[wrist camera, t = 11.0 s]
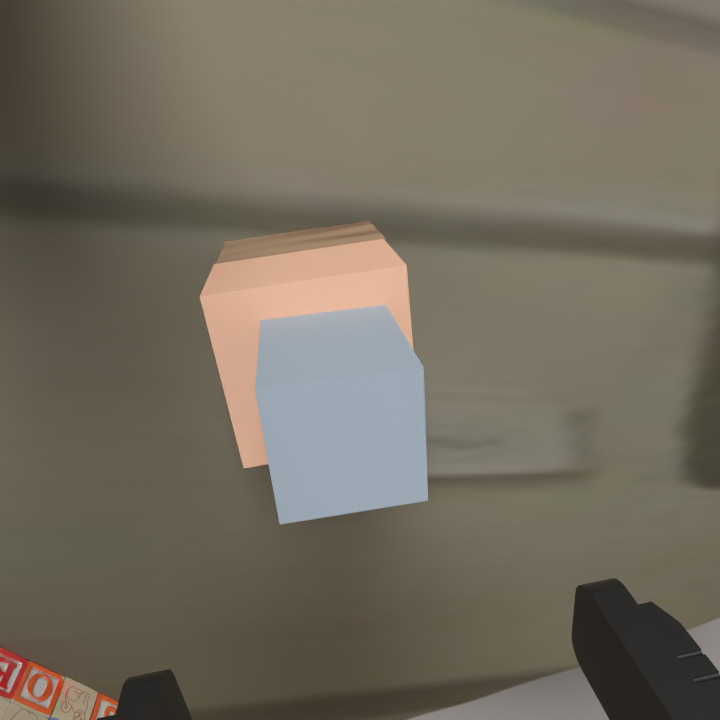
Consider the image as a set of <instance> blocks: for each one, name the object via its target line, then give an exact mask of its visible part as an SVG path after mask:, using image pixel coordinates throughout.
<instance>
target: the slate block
mask: <svg viewBox="0 0 720 720" xmlns="http://www.w3.org/2000/svg"><path fill="white" fill-rule="evenodd" d="M255 394H256V399H257V405H258V410H259V416H260V421H261V426H262V432H263V437H264V442H265V448H266V453H267V459H268V464H269V469H270V475H271V480H272V486H273V491H274V496H275V502H276V507H277V512H278V518H279V523H280V524H286V523H293V522H299V521H305V520H311V519H317V518H323V517H330V516H336V515H342V514H348V513H354V512H360V511H367V510H373V509H379V508H385V507H391V506H397V505H404V504H410V503H416V502H422V501H428V487H427V456H426V426H425V396H424V368H423V366H422V364H421V362H420V361H419V359H418V357H417V356H416V354H415V352H414V351H413V349H412V347H411V346H410V344H409V342H408V341H407V339H406V337H405V336H404V334H403V332H402V331H401V329H400V327H399V326H398V324H397V322H396V321H395V319H394V317H393V316H392V314H391V312H390V311H389V309H388V307H387V306H386V305H379V306H371V307H363V308H355V309H347V310H339V311H331V312H323V313H315V314H307V315H299V316H291V317H283V318H275V319H267V320H260V331H259V344H258V357H257V370H256V383H255Z"/></svg>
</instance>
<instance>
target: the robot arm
mask: <svg viewBox="0 0 720 720" xmlns="http://www.w3.org/2000/svg"><path fill="white" fill-rule="evenodd" d="M572 642H573V647H574V651H575V654H576V657H577V660H578V662H579V665H580V667H581V669H582V671H583V673H584V674H585V676H586V678H587V680H588V682H589V683H590V685H591V687H592V689H593V691H594V692H595V694H596V696H597V698H598V699H599V701H600V703H601V705H602V707H603V709H604V710H605V712H606V714H607V716H608V718H609V719H610V720H720V675H719V671H718V670H717V669H716V667H715V666H714V665H713V664H712V662H711V661H710V660H709V658H708V657H707V656H706V655H703V654H702V652H701V649H700V647H699V646H698V645H697V643H696V642H695V641H694V640H693V638H692V637H691V636H690V635H689V633H688V632H687V631H686V630H685V628H684V627H683V626H682V625H681V623H680V622H678V621H677V620H676V619H674V618H673V617H672V616H670V615H669V614H668V613H666V612H665V611H664V610H662V609H661V608H659V607H658V606H657V605H655V604H654V603H653V602H648V603H643V604H639V605H638V604H637V602H636V601H635V600H634V598H633V597H632V596H631V594H630V593H629V591H628V590H627V589H626V587H625V586H624V585H623V584H622V583H621V582H620V581H619V580H617V579H614V578H613V579H608V580H603V581H598V582H593V583H589V584H584V585H579V586H578V587H577V588H576V593H575V604H574V615H573V626H572ZM97 720H192V719H191V716H190V713H189V710H188V708H187V706H186V703H185V701H184V698H183V696H182V693H181V691H180V689H179V686H178V684H177V681H176V679H175V676H174V674H173V672H172V671H171V670H170V669H168V670H163V671H158V672H153V673H149V674H144V675H139V676H134V677H130V678H128V679H127V680H126V681H125V683H124V685H123V688H122V691H121V695H120V698H119V702H118V706H117V710H116V713H115V715H110V716H106V717H101V718H97Z"/></svg>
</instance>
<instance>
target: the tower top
mask: <svg viewBox="0 0 720 720" xmlns="http://www.w3.org/2000/svg"><path fill="white" fill-rule="evenodd" d="M200 300H201V304H202V308H203V312H204V315H205V319H206V323H207V327H208V331H209V335H210V339H211V343H212V347H213V351H214V354H215V358H216V362H217V366H218V370H219V374H220V378H221V382H222V386H223V390H224V393H225V397H226V401H227V405H228V409H229V413H230V417H231V421H232V425H233V429H234V432H235V436H236V440H237V444H238V448H239V452H240V456H241V460H242V464H243V468H249V467H255V466H260V465H266V464H268V459H267V453H266V448H265V442H264V437H263V432H262V426H261V421H260V416H259V410H258V405H257V399H256V394H255V383H256V370H257V357H258V344H259V331H260V320H267V319H275V318H283V317H291V316H299V315H307V314H315V313H323V312H331V311H339V310H347V309H355V308H363V307H371V306H379V305H386V306H387V307H388V309H389V311H390V312H391V314H392V316H393V317H394V319H395V321H396V322H397V324H398V326H399V327H400V329H401V331H402V332H403V334H404V336H405V337H406V339H407V341H408V342H409V344H410V346H411V347H412V349H413V341H412V328H411V316H410V303H409V291H408V278H407V266H406V264H405V263H404V262H403V261H402V260H401V258H400V257H399V256H398V255H397V254H396V253H395V252H394V250H393V249H392V248H391V247H390V246H389V245H388V244H387V243H386V241H385V240H384V239H381V240H374V241H367V242H361V243H354V244H347V245H340V246H334V247H327V248H320V249H314V250H307V251H300V252H293V253H287V254H280V255H273V256H266V257H260V258H253V259H246V260H239V261H233V262H226V263H219V264H214V265H213V268H212V270H211V272H210V275H209V277H208V279H207V281H206V284H205V286H204V288H203V290H202V293H201V295H200Z"/></svg>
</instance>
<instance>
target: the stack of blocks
mask: <svg viewBox="0 0 720 720" xmlns="http://www.w3.org/2000/svg"><path fill="white" fill-rule="evenodd" d="M117 706H118V702H117V701H115V700H113V699H111V698H109V697H107V696H105V695H103V694H100V693H98V692H96V691H94V690H93V689H91V688H89V687H87V686H84V685H82V684H80V683H78V682H76V681H74V680H72V679H70V678H68V677H63V676H61V675H59V674H57V673H54V672H52V671H50V670H48V669H46V668H44V667H42V666H40V665H38V664H36V663H34V662H31V661H28V660H26V659H24V658H22V657H20V656H18V655H16V654H14V653H12V652H10V651H8V650H6V649H4V648H1V647H0V720H97V718H101V717H106V716H110V715H115V713H116V710H117Z"/></svg>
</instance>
